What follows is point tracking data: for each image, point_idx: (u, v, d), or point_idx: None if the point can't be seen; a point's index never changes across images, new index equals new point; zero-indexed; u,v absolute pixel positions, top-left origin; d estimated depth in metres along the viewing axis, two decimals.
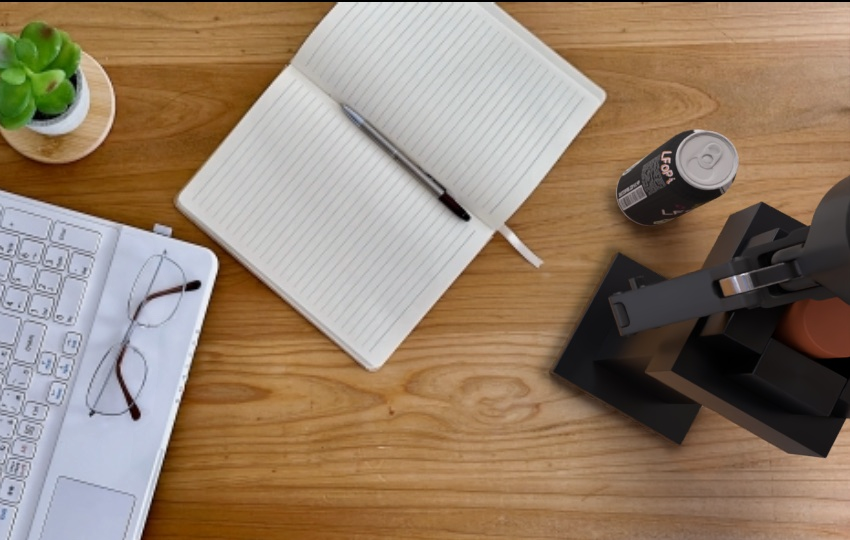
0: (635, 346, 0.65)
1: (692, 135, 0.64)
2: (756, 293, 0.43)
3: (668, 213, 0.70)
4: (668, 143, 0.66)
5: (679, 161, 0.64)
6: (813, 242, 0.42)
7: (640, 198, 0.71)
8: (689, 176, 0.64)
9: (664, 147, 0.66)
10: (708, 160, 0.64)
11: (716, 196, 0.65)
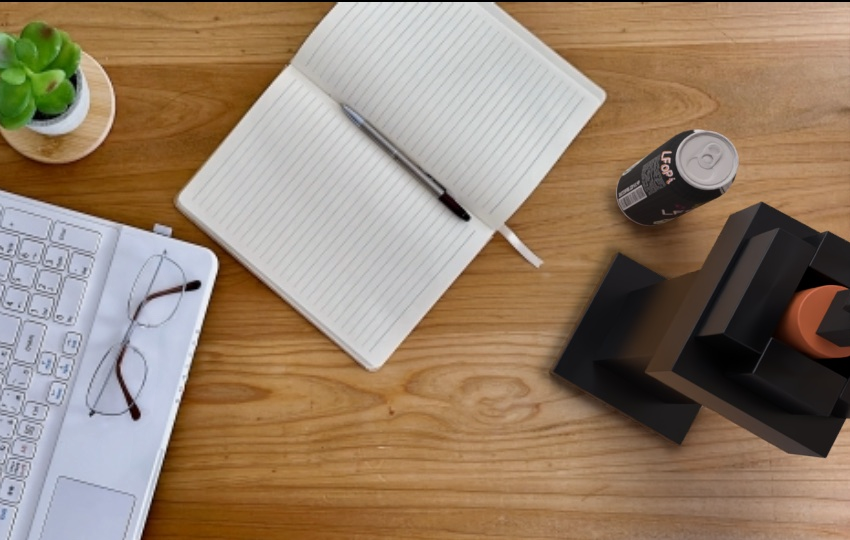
0: (635, 346, 0.65)
1: (692, 135, 0.64)
2: None
3: (668, 213, 0.70)
4: (668, 143, 0.66)
5: (679, 161, 0.64)
6: None
7: (640, 198, 0.71)
8: (690, 176, 0.64)
9: (664, 147, 0.66)
10: (708, 160, 0.64)
11: (716, 196, 0.65)
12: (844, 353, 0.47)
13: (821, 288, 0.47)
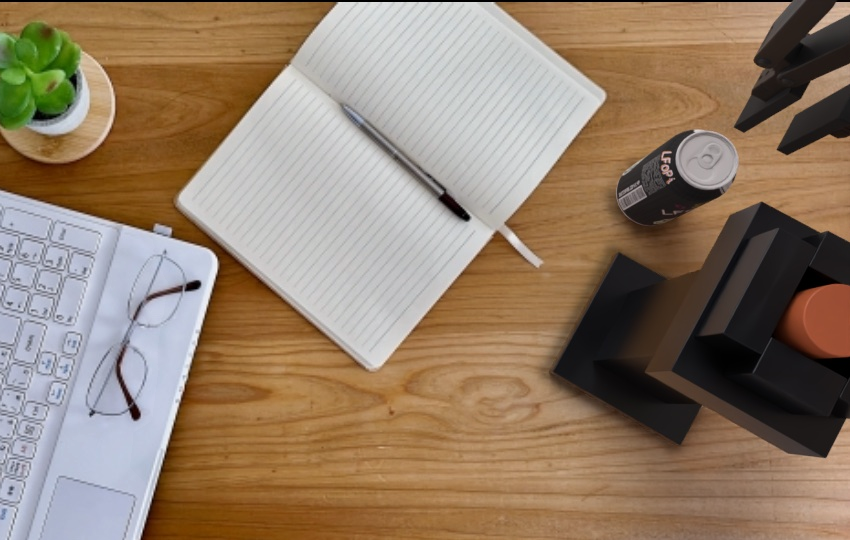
0: (635, 346, 0.65)
1: (692, 135, 0.64)
2: None
3: (668, 213, 0.70)
4: (668, 143, 0.66)
5: (679, 161, 0.64)
6: None
7: (640, 198, 0.71)
8: (689, 176, 0.64)
9: (664, 147, 0.66)
10: (708, 160, 0.64)
11: (716, 196, 0.65)
12: None
13: (827, 287, 0.47)
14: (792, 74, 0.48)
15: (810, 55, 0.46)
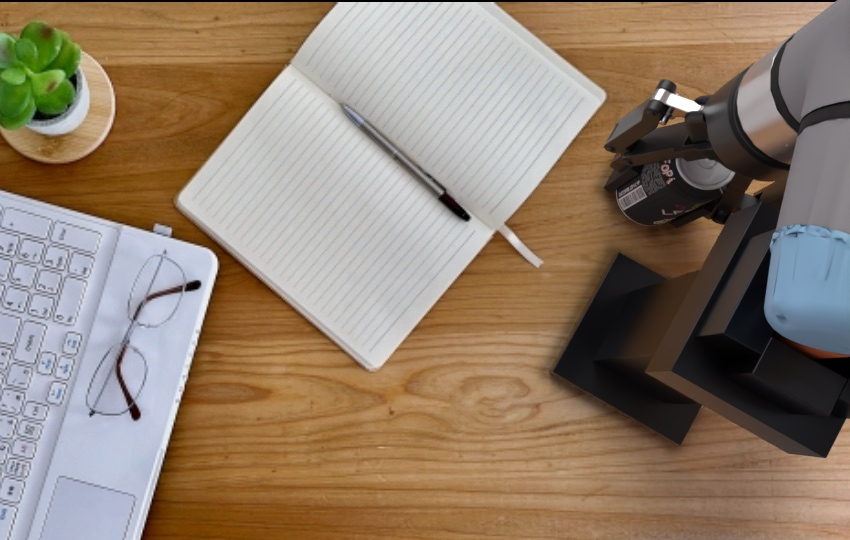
0: (635, 346, 0.65)
1: None
2: (656, 103, 0.59)
3: (668, 213, 0.70)
4: None
5: (679, 161, 0.64)
6: (723, 85, 0.56)
7: (640, 198, 0.71)
8: (690, 176, 0.64)
9: None
10: (708, 161, 0.64)
11: (716, 196, 0.65)
12: None
13: None
14: (631, 158, 0.68)
15: (644, 149, 0.66)
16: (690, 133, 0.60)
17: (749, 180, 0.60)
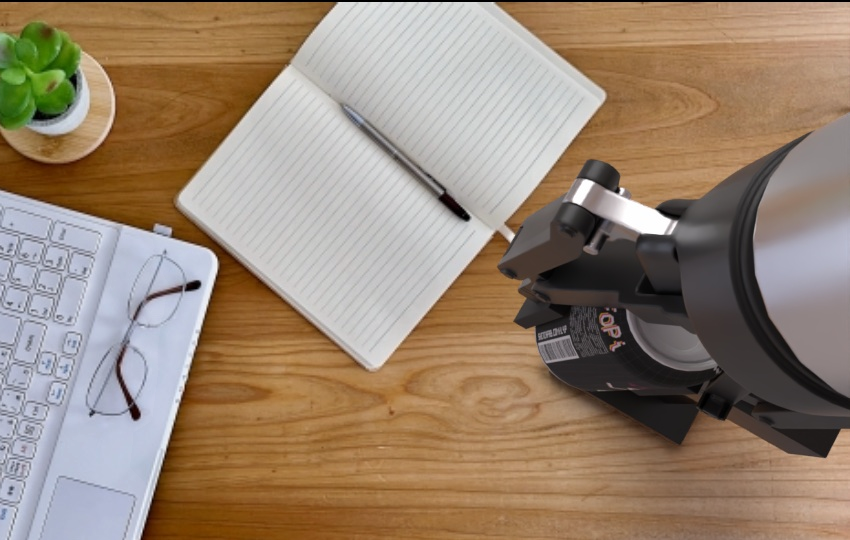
0: None
1: None
2: (575, 211, 0.27)
3: (619, 388, 0.38)
4: None
5: None
6: (720, 185, 0.24)
7: (569, 356, 0.39)
8: (653, 342, 0.32)
9: None
10: None
11: (706, 379, 0.33)
12: None
13: None
14: (547, 293, 0.36)
15: (567, 280, 0.35)
16: (649, 275, 0.28)
17: None
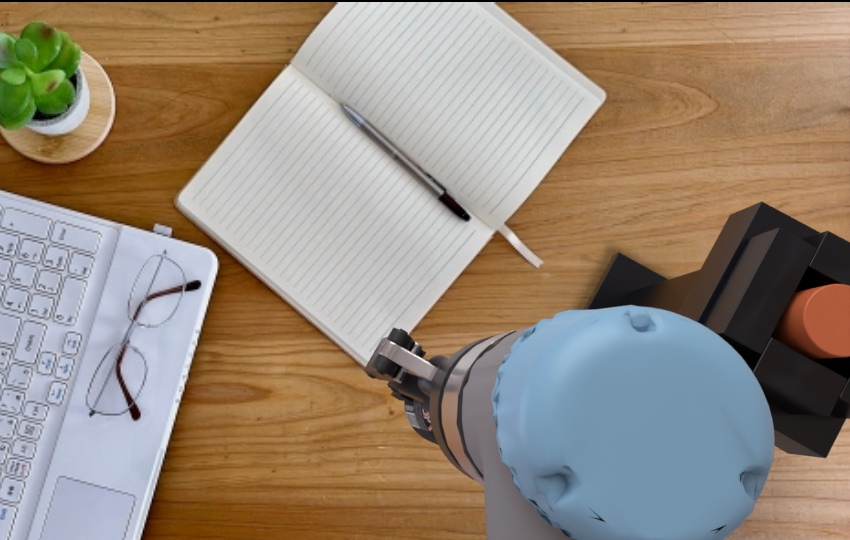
0: None
1: None
2: (383, 360, 0.46)
3: None
4: None
5: None
6: (451, 356, 0.43)
7: (417, 426, 0.57)
8: None
9: None
10: None
11: None
12: None
13: (827, 287, 0.47)
14: (395, 388, 0.55)
15: (404, 383, 0.53)
16: None
17: None
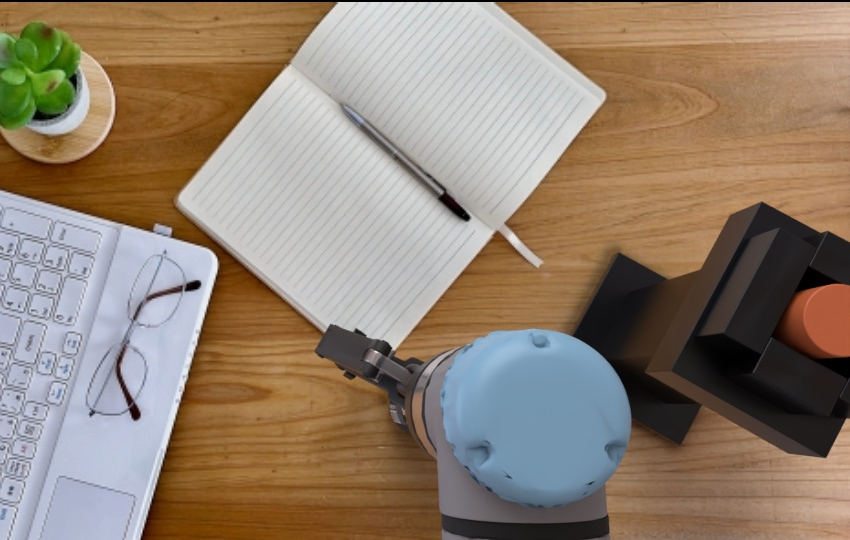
0: (635, 346, 0.65)
1: None
2: (371, 368, 0.56)
3: None
4: None
5: None
6: (422, 365, 0.54)
7: (399, 421, 0.69)
8: None
9: None
10: None
11: None
12: None
13: (827, 287, 0.47)
14: (345, 369, 0.64)
15: None
16: None
17: None
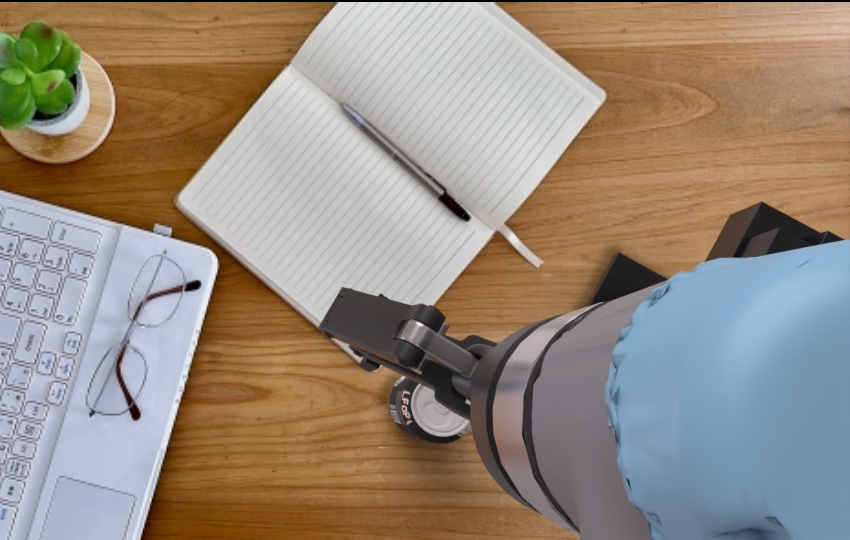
0: None
1: None
2: (413, 350, 0.34)
3: None
4: (409, 381, 0.64)
5: (415, 406, 0.63)
6: (499, 344, 0.32)
7: (399, 421, 0.69)
8: (424, 422, 0.62)
9: (406, 385, 0.64)
10: (443, 406, 0.63)
11: (455, 439, 0.63)
12: None
13: None
14: (364, 354, 0.43)
15: None
16: (466, 398, 0.36)
17: None
